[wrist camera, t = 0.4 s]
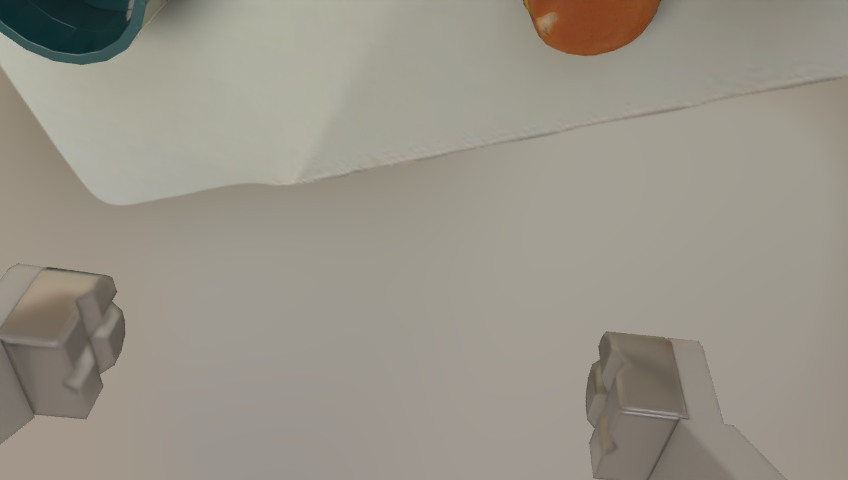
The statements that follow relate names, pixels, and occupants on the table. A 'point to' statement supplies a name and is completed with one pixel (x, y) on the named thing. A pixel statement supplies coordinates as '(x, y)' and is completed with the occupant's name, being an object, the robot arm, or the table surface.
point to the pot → (76, 26)
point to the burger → (590, 23)
